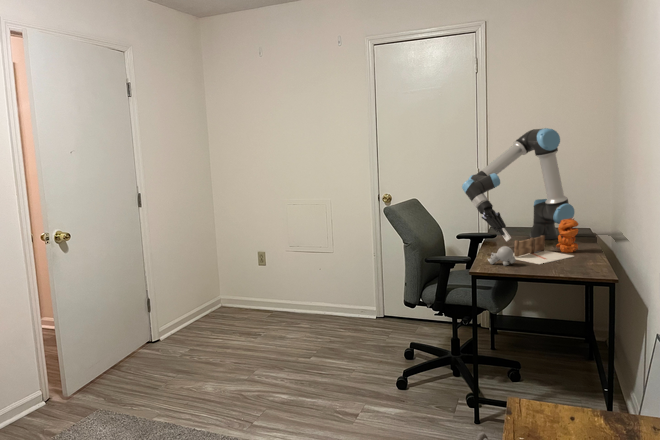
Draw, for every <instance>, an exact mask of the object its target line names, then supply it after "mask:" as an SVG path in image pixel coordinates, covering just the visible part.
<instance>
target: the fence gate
mask: <svg viewBox="0 0 660 440" xmlns="http://www.w3.org/2000/svg"><path fill="white" fill-rule="evenodd" d="M513 245H514V250H513V253H514V256H515V257H519V256H521V255H525V254H529V253H531V251H532V239H530V238H528V239H527V238H526V239H522V240H517V239H516V240H514V244H513Z"/></svg>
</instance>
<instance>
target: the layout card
mask: <svg viewBox="0 0 660 440" xmlns="http://www.w3.org/2000/svg"><path fill="white" fill-rule="evenodd" d="M513 256H514V252H513ZM514 257H515V256H514ZM574 257H575V255H572V254H568V253H562V252H561V253H560V252H557V251H556V252H555V251H549V250H544V251H537V252H534V254H530V253H529V254H525V255H521V256H519V257H515V259H516V260H517V261H522V262H527V263H530V264H536V265H543V263H544V264H548V263H552V262H556V261H557V262H558V261H561V260H565V259H570V258H574ZM516 260H515V261H516Z"/></svg>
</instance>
